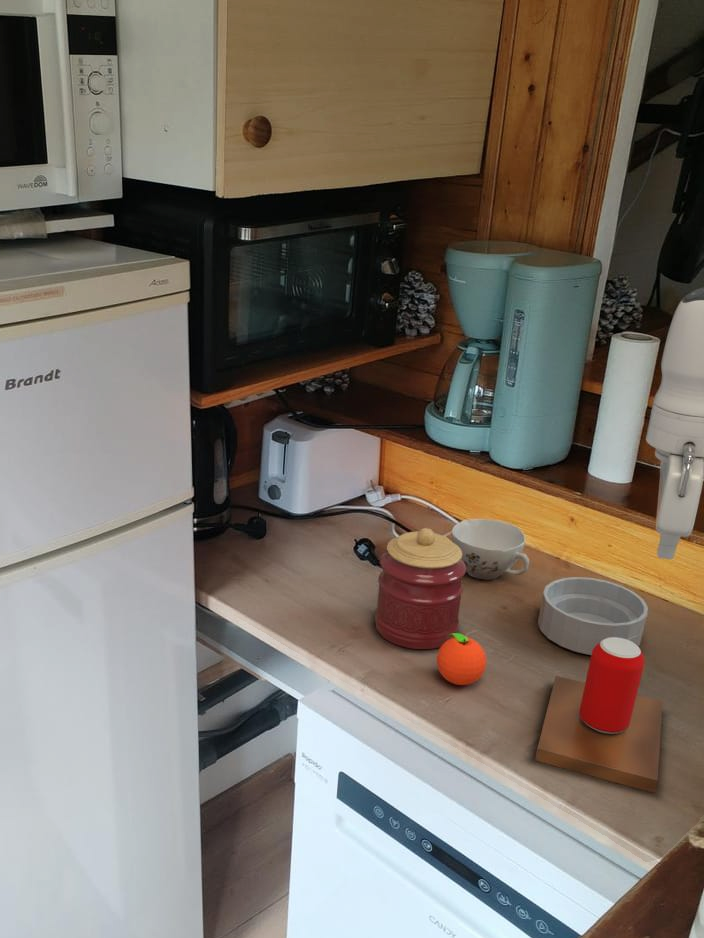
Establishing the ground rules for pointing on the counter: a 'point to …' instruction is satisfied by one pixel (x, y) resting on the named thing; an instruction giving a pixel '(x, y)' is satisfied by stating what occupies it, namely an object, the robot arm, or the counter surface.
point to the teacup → (490, 547)
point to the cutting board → (601, 740)
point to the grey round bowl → (590, 613)
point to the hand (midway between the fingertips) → (665, 540)
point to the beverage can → (611, 685)
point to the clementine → (461, 660)
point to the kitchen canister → (419, 590)
